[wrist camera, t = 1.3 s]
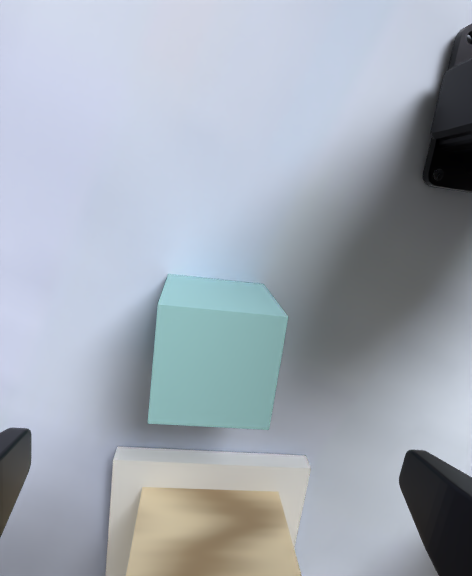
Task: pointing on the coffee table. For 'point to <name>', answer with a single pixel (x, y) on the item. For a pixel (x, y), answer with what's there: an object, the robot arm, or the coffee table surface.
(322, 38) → the coffee table surface
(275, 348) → the teal block
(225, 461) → the baseplate
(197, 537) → the maple brick
